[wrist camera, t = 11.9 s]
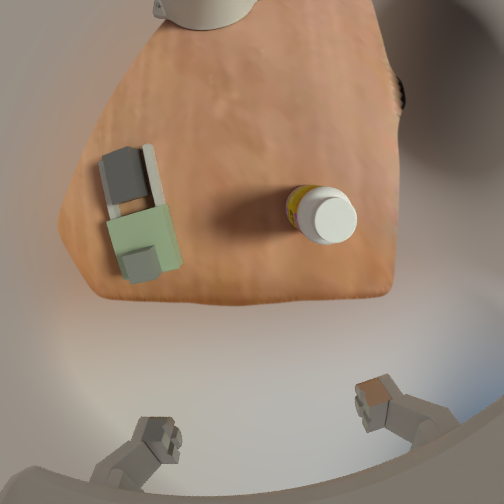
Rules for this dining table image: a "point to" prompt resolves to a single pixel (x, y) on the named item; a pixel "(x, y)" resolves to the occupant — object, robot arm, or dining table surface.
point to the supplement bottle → (321, 213)
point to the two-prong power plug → (143, 231)
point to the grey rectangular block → (125, 175)
